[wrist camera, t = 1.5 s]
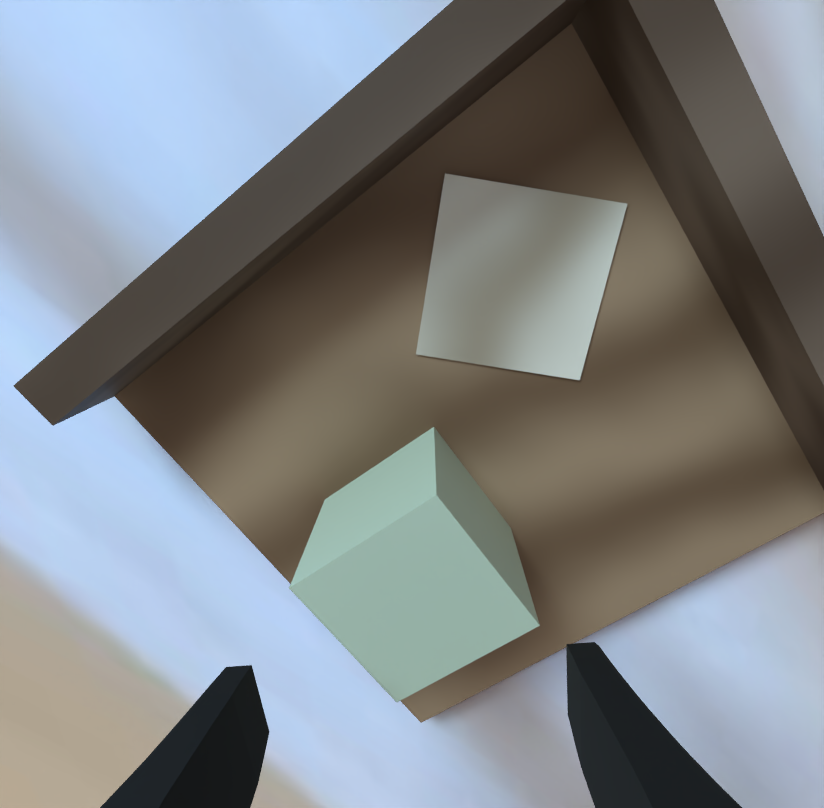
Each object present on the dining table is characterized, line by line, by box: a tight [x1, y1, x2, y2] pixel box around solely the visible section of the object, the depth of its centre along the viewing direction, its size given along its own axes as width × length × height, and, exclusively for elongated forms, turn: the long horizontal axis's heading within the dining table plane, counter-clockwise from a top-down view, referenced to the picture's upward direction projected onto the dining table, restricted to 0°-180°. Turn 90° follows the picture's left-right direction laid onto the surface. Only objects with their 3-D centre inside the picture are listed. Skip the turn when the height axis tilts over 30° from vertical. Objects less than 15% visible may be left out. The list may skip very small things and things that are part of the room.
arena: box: [14, 0, 824, 722], centre depth 16 cm, size 20×20×4 cm
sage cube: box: [289, 427, 540, 702], centre depth 16 cm, size 5×5×5 cm
